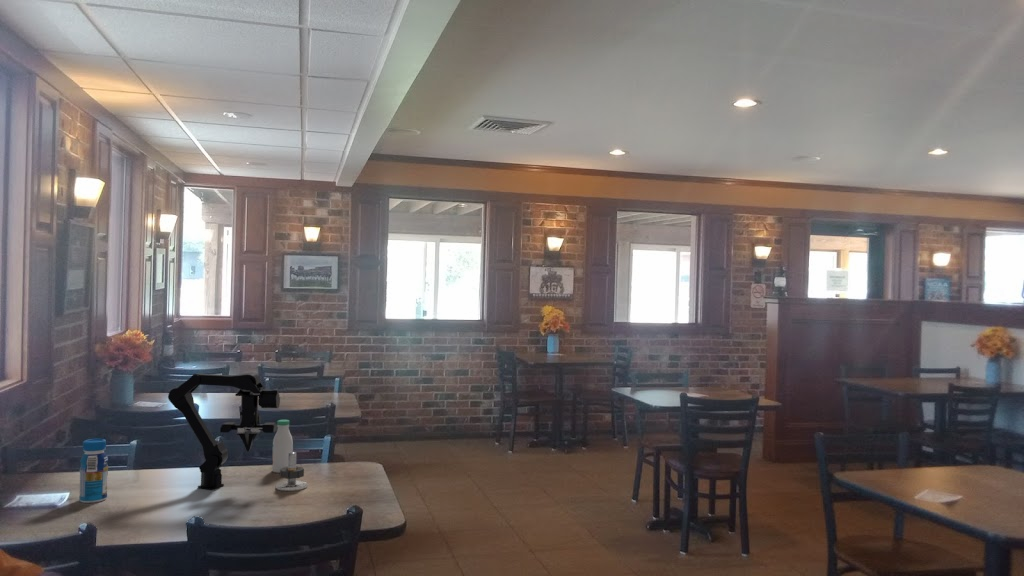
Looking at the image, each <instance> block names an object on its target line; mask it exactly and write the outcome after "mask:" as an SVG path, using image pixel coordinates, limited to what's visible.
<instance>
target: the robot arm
mask: <svg viewBox="0 0 1024 576" xmlns="http://www.w3.org/2000/svg"><path fill="white" fill-rule="evenodd" d="M200 385H202V386H220V387H233V388H235V389H239V391H238V392H236V393H235V396H236V397H241V401H240V402H241V403H240V407H241V408H240V423H239V424H237V423H236V422H235V421H234V422H233V421H232V422H231V421H226V422H224V423H222V424H221V425H220V433H230V432H232V431H237V432H236V436H239V437H240V439H241V441H242V443H243V445H244V447H245V450H246V452H250V451H251V450H252V449H251V448H252V446H253V444H254V441H255V439H256V436H257V435H259V434H260V433H262V432H263V433H265V434H270V433H272V434H274V433H275V432H277V429H278V426H277V423H276V422H267V421H266V422H264V423H262V415H261V414H259V407H261V409H279V408H280V403H281V397H280V393H279V389H277V388H276V389H266V388H265V387H264V385H263V383H262V382H261V378H260V376H259V375H258V374H257V373H255V372H247V373H239V374H233V375H232V374H215V373H214V374H213V373H201V372H196V373H194V374H193V375H191V376H190V378H188V379H187V380H185V382H183V383H182V384H180V385H179V386H177V387H174V388H173V389H171V390H170V391H169V392H168V396H167V399H168V401H169V402H170V403H171V404H172V405H173V407H174V408H175V409H177V410H178V411H180V413H182V415H183V417H184V418H185V419H186V422H187V423H188V424H189V426H190V428H191V430H192V431H193V433H194V435H195V437H196V438H197V440H198V441H199V443H200V445H201V447H202V452H203V457H204V462H203V463H201V465H199V466H198V467H199V472H200V474H201V475H200V485H198V486H197V488H198V489H203V490H215V489H218V488H220V487H223V486H225V484H224V483H222V481H223V480H222V479H223V478H222V477H223V474H222V469H220V468H222V466H223V465H224V463H225V462H226V461H227V459H228V457H229V454H228V451H229V449H228V448H226V446H225V444H224V442H223V441H219V442H218V441H217V440H216V439H214V437H213V435H212V433H211V432H210V430H209V428H208V427H207V425H206V423H205V422H204V420H203V418H202V417H201V415H200V413H199V412H198V410H197V408H196V406H195V402H194V401H195V400H194V396H193V394H192V393H193V392H194V391H195V390H196V389H197V388H198V387H199V386H200ZM258 405H259V406H258Z"/></svg>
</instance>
